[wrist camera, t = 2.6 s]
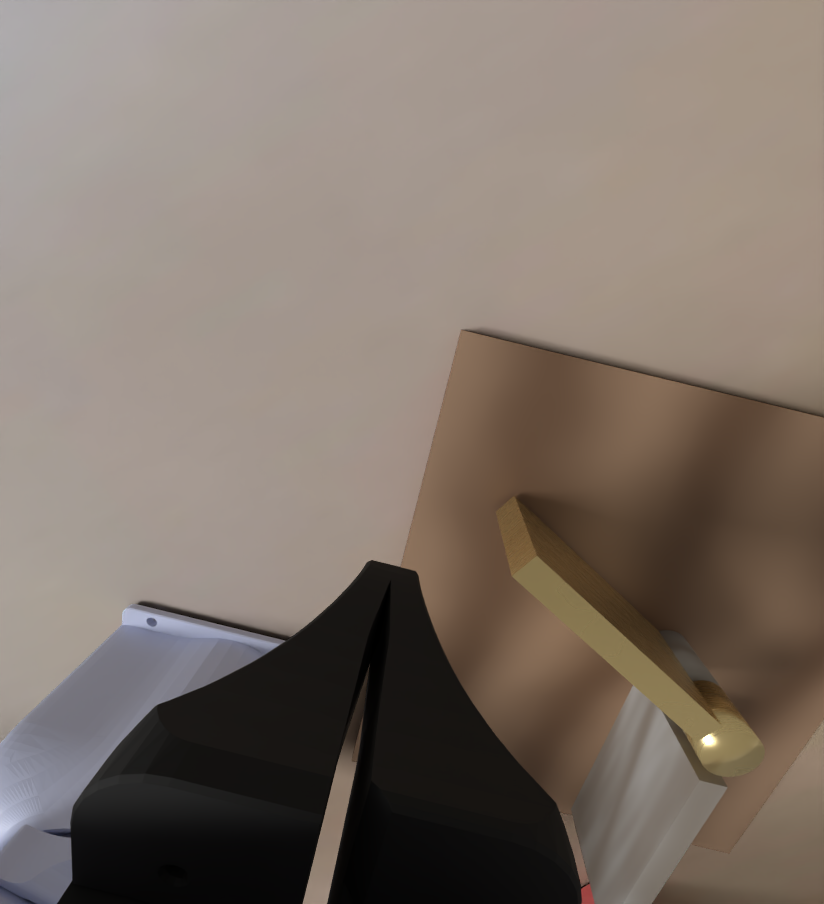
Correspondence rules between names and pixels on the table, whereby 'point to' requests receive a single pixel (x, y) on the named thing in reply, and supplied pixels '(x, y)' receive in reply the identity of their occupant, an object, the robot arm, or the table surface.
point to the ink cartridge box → (587, 895)
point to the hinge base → (627, 588)
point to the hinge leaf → (626, 642)
